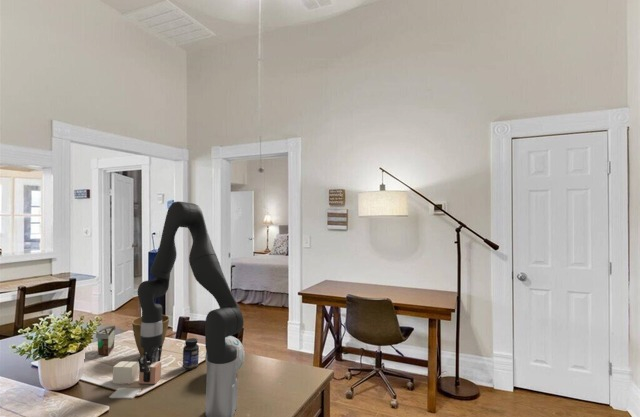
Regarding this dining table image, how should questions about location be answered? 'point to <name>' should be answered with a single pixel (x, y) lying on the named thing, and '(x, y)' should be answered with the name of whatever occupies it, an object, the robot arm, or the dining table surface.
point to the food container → (105, 340)
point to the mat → (125, 393)
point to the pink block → (152, 373)
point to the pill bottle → (190, 354)
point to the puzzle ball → (240, 350)
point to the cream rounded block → (125, 372)
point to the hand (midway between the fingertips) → (150, 378)
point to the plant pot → (137, 330)
